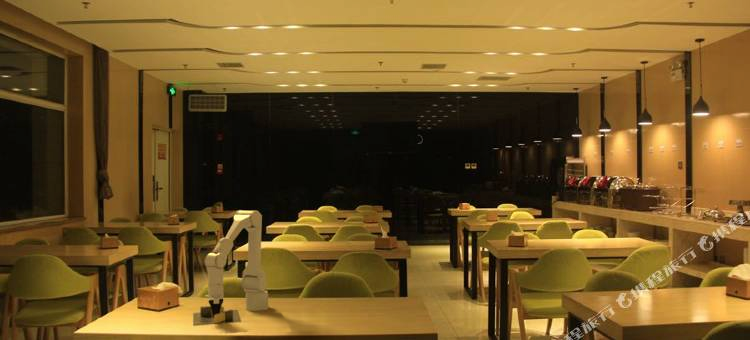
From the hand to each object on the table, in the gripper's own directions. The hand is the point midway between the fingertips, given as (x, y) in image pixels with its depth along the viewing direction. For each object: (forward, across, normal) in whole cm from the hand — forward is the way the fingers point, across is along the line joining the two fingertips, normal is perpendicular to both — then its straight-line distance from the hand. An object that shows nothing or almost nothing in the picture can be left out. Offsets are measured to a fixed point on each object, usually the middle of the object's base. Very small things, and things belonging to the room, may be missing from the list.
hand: (216, 318), depth 228 cm
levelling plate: (+2, -7, 0) cm, 7 cm away
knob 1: (+1, -12, -1) cm, 12 cm away
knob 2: (+1, 0, +3) cm, 3 cm away
